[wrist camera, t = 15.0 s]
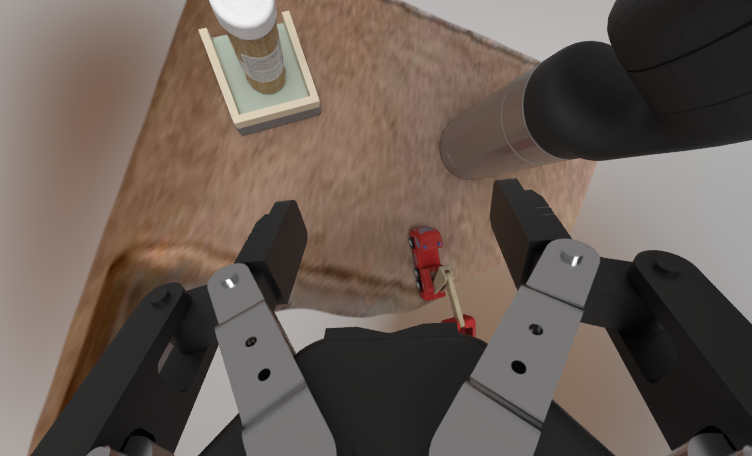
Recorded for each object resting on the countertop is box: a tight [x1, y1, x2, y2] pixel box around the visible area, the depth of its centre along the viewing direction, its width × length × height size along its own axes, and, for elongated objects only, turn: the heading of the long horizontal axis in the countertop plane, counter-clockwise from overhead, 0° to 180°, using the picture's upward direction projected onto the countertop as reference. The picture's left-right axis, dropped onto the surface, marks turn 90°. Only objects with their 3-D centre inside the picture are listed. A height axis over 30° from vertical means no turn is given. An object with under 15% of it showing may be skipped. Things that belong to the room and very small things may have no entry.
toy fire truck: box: [409, 227, 476, 337], centre depth 39 cm, size 3×14×10 cm, turn 10°
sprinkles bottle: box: [209, 0, 286, 94], centre depth 28 cm, size 5×5×13 cm
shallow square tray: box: [198, 11, 321, 136], centre depth 35 cm, size 10×10×5 cm
